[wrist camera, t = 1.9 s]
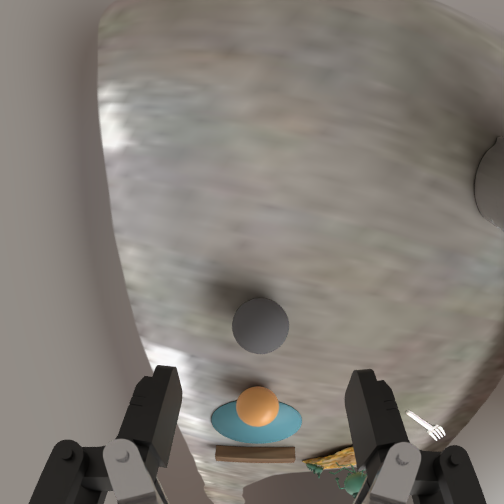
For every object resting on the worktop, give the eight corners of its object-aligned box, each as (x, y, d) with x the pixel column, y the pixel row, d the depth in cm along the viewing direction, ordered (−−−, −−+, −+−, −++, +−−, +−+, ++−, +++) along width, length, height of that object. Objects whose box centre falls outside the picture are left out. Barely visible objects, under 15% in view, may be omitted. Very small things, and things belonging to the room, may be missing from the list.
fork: (414, 403, 41) (417, 412, 39) (444, 428, 46) (447, 434, 44) (398, 413, 42) (401, 421, 40) (432, 435, 47) (434, 442, 46)
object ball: (243, 374, 36) (240, 409, 31) (284, 382, 36) (286, 416, 32) (233, 397, 38) (230, 430, 33) (271, 404, 39) (271, 436, 34)
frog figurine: (306, 445, 45) (322, 514, 32) (392, 428, 47) (416, 486, 34) (298, 465, 49) (310, 525, 36) (376, 449, 51) (395, 502, 38)
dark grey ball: (241, 281, 30) (237, 315, 25) (294, 294, 30) (299, 329, 25) (229, 322, 32) (224, 358, 27) (277, 333, 33) (279, 369, 28)
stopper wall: (216, 445, 45) (215, 456, 43) (294, 446, 45) (295, 458, 43) (217, 449, 46) (216, 460, 44) (293, 451, 46) (294, 462, 44)
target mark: (207, 396, 38) (207, 397, 38) (307, 398, 38) (307, 399, 38) (215, 440, 45) (215, 441, 44) (296, 442, 44) (296, 443, 44)
